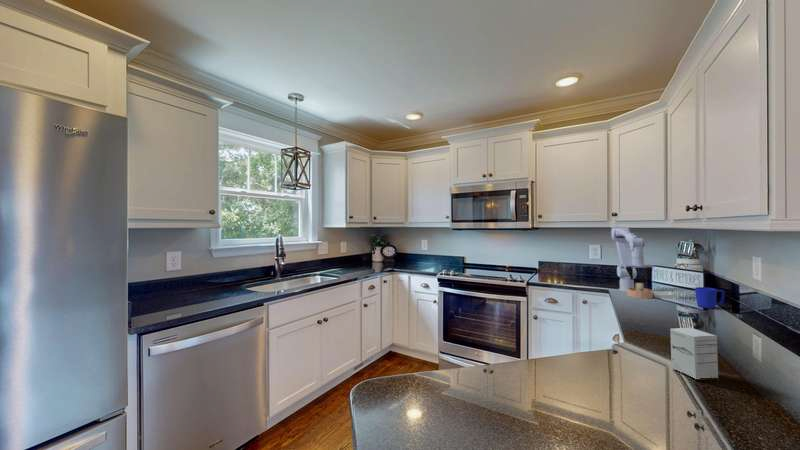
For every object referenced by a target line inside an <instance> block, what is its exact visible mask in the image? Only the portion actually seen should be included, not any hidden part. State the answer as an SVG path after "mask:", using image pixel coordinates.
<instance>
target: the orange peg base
mask: <svg viewBox="0 0 800 450" xmlns="http://www.w3.org/2000/svg"><path fill="white" fill-rule="evenodd" d="M653 291H654V289H650V288H645V287H644V291H636V287H634V288H627V292H626V296H628V297H631V298H636V299H654V297H653Z"/></svg>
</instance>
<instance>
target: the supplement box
mask: <svg viewBox="0 0 800 450" xmlns="http://www.w3.org/2000/svg"><path fill="white" fill-rule="evenodd" d="M669 331H670V332H669V333H670V358H671V359H670V360H671V361H670V362H671V363H670V364H671V369H672V368H674V369H676V370H678V371H680V372H683V373H685V374H687V375H689V376H691V377H693V378H695V379H700V378H718V379H719V365H718V364H719V362H718V359H719V358H718V335H716V334H712V333H709V332H706V331H703V330H700V329H696V328H693V327H679V328H678V327H677V328H670V330H669Z"/></svg>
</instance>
